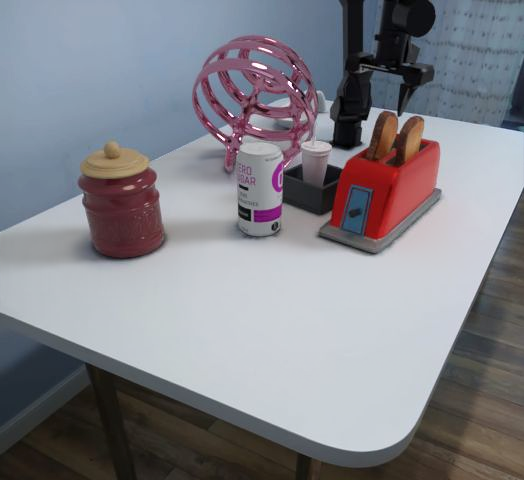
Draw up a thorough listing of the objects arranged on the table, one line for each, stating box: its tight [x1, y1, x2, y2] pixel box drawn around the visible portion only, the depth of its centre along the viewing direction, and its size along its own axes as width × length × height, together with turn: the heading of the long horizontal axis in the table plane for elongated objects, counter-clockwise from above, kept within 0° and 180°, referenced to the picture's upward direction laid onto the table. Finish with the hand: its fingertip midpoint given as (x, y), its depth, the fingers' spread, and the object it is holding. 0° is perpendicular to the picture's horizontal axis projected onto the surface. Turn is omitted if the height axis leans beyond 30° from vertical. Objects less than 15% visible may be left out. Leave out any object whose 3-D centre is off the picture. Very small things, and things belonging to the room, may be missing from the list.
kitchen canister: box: [77, 140, 165, 259], centre depth 84 cm, size 13×13×18 cm
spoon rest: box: [274, 89, 327, 130], centre depth 143 cm, size 24×12×7 cm, turn 151°
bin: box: [282, 163, 344, 216], centre depth 103 cm, size 12×12×5 cm
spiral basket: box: [191, 34, 319, 172], centre depth 109 cm, size 28×28×27 cm
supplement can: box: [235, 140, 284, 237], centre depth 89 cm, size 8×8×15 cm
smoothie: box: [300, 122, 333, 187], centre depth 100 cm, size 6×6×14 cm
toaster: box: [318, 110, 443, 254], centre depth 93 cm, size 32×13×19 cm, turn 144°
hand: (381, 111), depth 108 cm, fingers open, 9 cm apart
